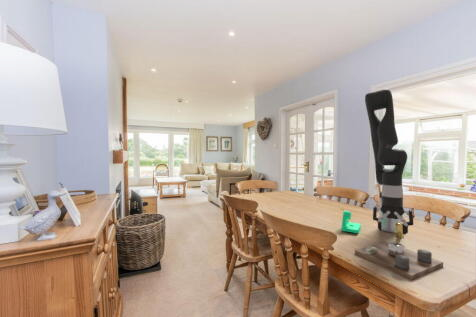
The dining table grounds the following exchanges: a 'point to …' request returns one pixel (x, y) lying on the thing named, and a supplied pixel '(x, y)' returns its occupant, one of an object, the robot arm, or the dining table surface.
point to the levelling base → (391, 261)
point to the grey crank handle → (397, 241)
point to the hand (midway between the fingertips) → (392, 232)
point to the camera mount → (349, 223)
